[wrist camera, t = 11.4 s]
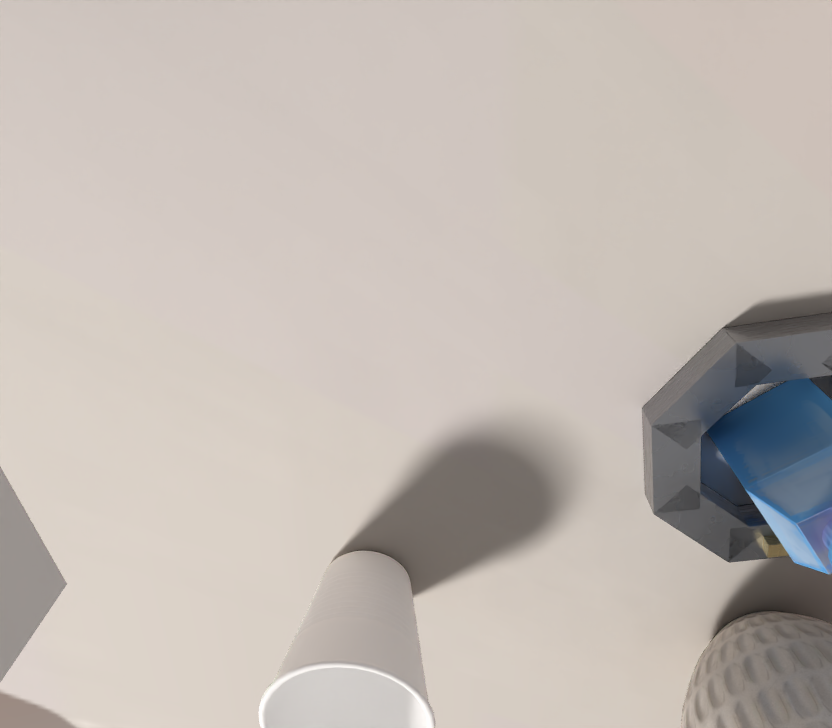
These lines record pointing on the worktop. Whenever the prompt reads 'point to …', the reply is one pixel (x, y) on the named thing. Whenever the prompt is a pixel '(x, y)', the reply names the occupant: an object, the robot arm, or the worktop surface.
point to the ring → (702, 407)
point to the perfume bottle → (786, 465)
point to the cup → (353, 654)
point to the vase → (763, 675)
